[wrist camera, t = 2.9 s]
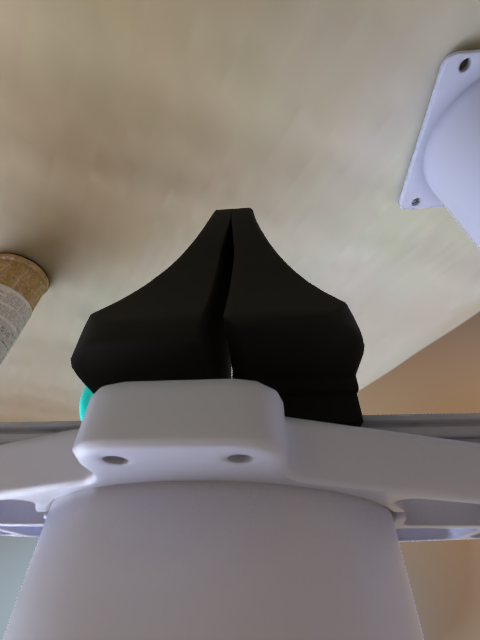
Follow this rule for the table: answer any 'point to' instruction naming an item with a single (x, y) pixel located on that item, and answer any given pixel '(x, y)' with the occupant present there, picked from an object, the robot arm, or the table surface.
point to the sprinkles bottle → (17, 296)
